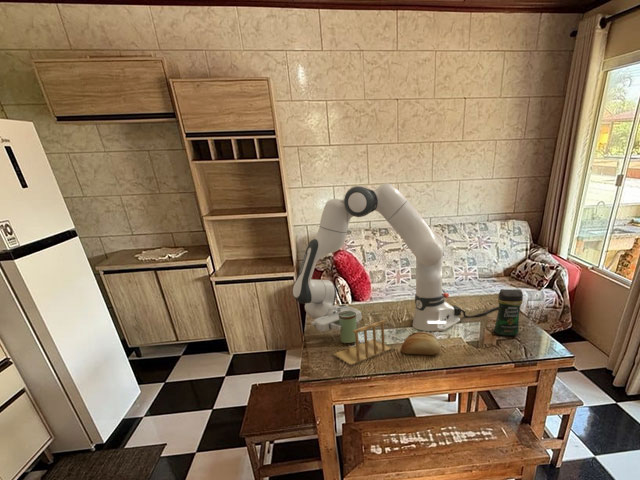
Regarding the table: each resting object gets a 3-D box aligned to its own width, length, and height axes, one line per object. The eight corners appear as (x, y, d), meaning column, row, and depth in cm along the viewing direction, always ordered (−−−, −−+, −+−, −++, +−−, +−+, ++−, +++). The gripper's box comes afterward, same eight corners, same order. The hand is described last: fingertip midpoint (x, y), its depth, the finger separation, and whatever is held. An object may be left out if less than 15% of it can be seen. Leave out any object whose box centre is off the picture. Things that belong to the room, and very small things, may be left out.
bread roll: (401, 348, 161) (401, 329, 157) (439, 347, 160) (440, 328, 156) (401, 359, 153) (400, 339, 149) (441, 358, 152) (441, 339, 148)
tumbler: (351, 334, 169) (349, 309, 164) (361, 339, 165) (359, 314, 159) (337, 339, 166) (334, 313, 160) (347, 344, 161) (344, 318, 156)
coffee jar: (495, 336, 168) (500, 292, 158) (493, 329, 174) (497, 286, 165) (519, 336, 166) (525, 292, 157) (516, 329, 173) (522, 286, 164)
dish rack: (373, 340, 168) (371, 310, 162) (392, 349, 160) (391, 318, 154) (332, 355, 157) (329, 324, 151) (350, 366, 149) (347, 333, 143)
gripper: (307, 315, 164) (326, 325, 154) (349, 303, 175) (369, 311, 165) (309, 330, 167) (327, 340, 157) (350, 317, 178) (369, 325, 168)
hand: (349, 325), depth 161 cm, fingers closed on tumbler, 7 cm apart
